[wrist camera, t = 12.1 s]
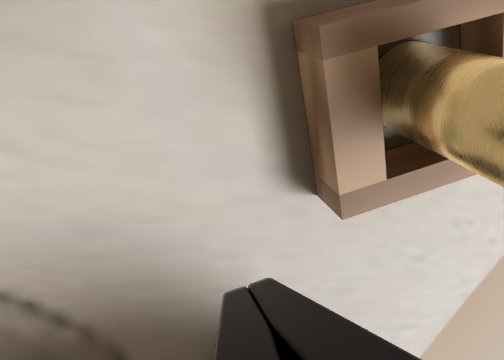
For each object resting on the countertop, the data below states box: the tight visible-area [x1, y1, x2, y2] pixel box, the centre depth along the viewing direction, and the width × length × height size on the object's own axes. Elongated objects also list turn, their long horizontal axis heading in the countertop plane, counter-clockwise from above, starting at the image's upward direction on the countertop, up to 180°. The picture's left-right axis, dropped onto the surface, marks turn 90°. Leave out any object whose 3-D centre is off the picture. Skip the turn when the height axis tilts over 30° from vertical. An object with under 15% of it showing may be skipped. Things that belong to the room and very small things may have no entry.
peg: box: [379, 41, 504, 187], centre depth 18 cm, size 4×4×8 cm
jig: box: [293, 0, 504, 220], centre depth 20 cm, size 8×10×2 cm
